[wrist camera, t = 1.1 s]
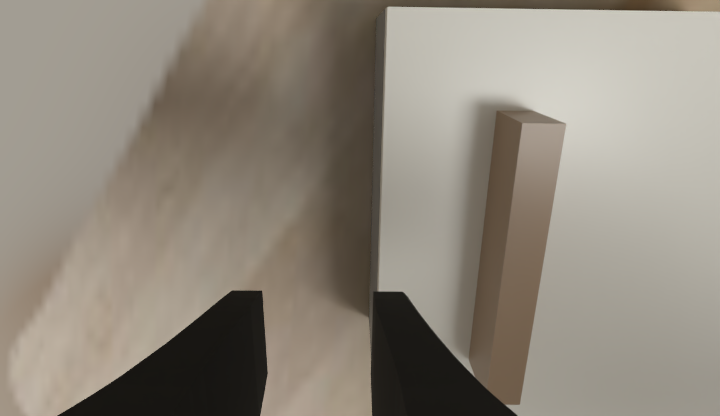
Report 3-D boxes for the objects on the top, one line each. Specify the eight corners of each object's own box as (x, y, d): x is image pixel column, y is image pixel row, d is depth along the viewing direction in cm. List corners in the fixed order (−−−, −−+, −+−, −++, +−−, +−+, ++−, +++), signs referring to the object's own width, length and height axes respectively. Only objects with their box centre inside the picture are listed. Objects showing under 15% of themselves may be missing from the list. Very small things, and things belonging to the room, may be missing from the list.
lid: (833, 15, 12) (963, 9, 10) (703, 402, 17) (768, 470, 14) (385, 8, 12) (393, -1, 10) (373, 402, 17) (377, 470, 14)
